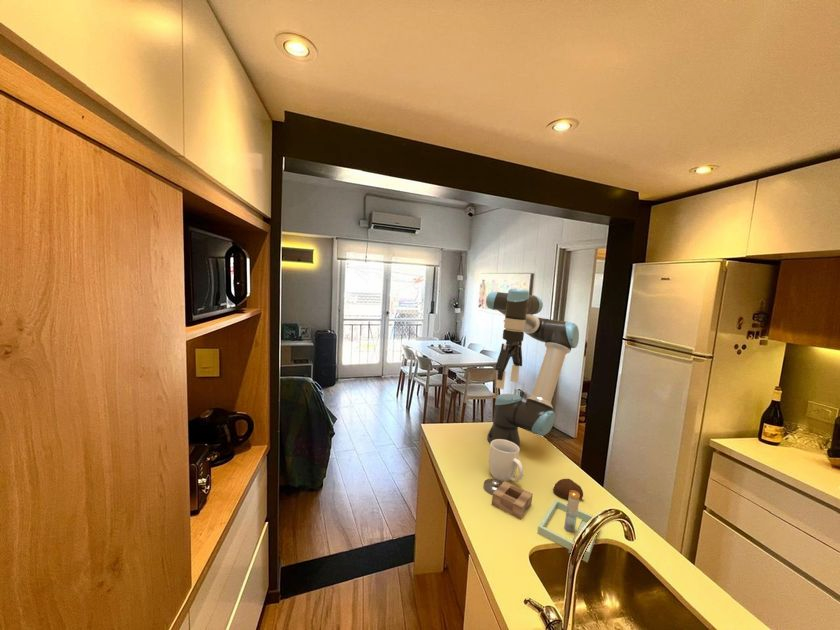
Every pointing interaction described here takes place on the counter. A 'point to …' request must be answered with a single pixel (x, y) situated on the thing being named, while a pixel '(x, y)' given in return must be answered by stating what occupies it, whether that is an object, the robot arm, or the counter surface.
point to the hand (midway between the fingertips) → (507, 384)
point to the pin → (572, 511)
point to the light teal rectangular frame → (561, 539)
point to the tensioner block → (512, 499)
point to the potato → (566, 488)
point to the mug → (504, 460)
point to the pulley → (491, 485)
